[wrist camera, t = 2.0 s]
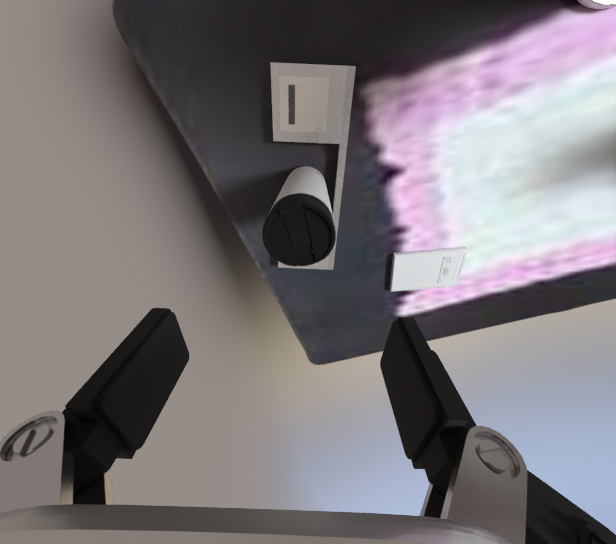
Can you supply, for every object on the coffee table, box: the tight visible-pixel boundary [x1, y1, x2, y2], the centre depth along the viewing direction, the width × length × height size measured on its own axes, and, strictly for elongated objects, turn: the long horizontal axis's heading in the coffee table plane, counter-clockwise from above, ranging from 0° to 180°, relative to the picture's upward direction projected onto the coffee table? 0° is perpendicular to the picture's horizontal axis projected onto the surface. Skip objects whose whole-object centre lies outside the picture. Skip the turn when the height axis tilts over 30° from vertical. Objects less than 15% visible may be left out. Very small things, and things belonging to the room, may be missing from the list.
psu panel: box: [270, 62, 356, 270], centre depth 35 cm, size 28×10×2 cm, turn 178°
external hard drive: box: [390, 247, 467, 291], centre depth 43 cm, size 2×8×12 cm
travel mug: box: [262, 166, 336, 267], centre depth 27 cm, size 6×7×20 cm
